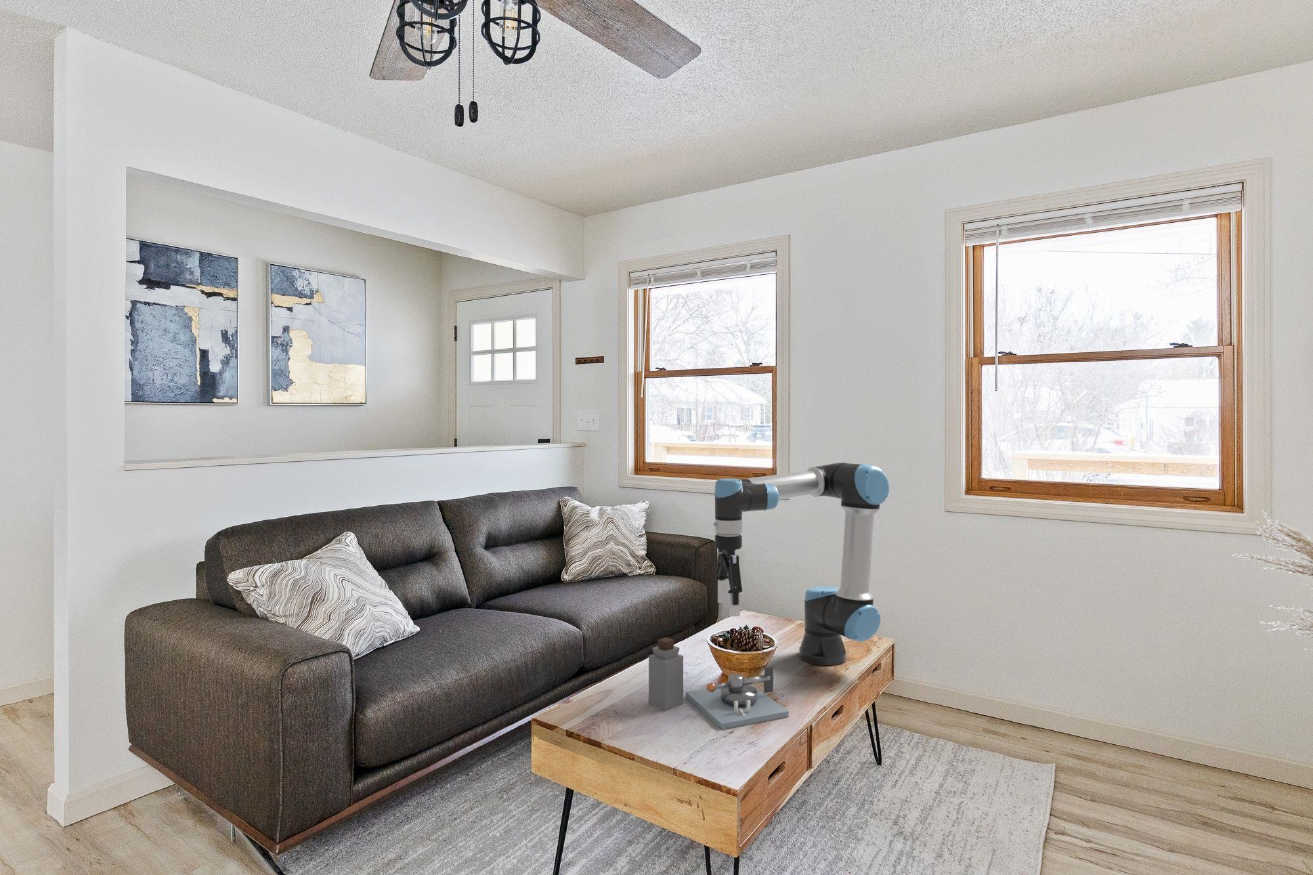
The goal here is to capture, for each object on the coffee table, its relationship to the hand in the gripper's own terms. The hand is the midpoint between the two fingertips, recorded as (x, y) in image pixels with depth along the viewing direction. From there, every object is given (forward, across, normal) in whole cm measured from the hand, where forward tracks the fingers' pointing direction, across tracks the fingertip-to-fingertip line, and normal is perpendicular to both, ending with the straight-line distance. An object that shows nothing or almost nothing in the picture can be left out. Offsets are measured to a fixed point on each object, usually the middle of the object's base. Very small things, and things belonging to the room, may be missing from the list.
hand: (728, 609), depth 198 cm
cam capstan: (+23, +5, +2) cm, 24 cm away
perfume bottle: (+26, +1, -18) cm, 31 cm away
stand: (+26, +6, +1) cm, 26 cm away
